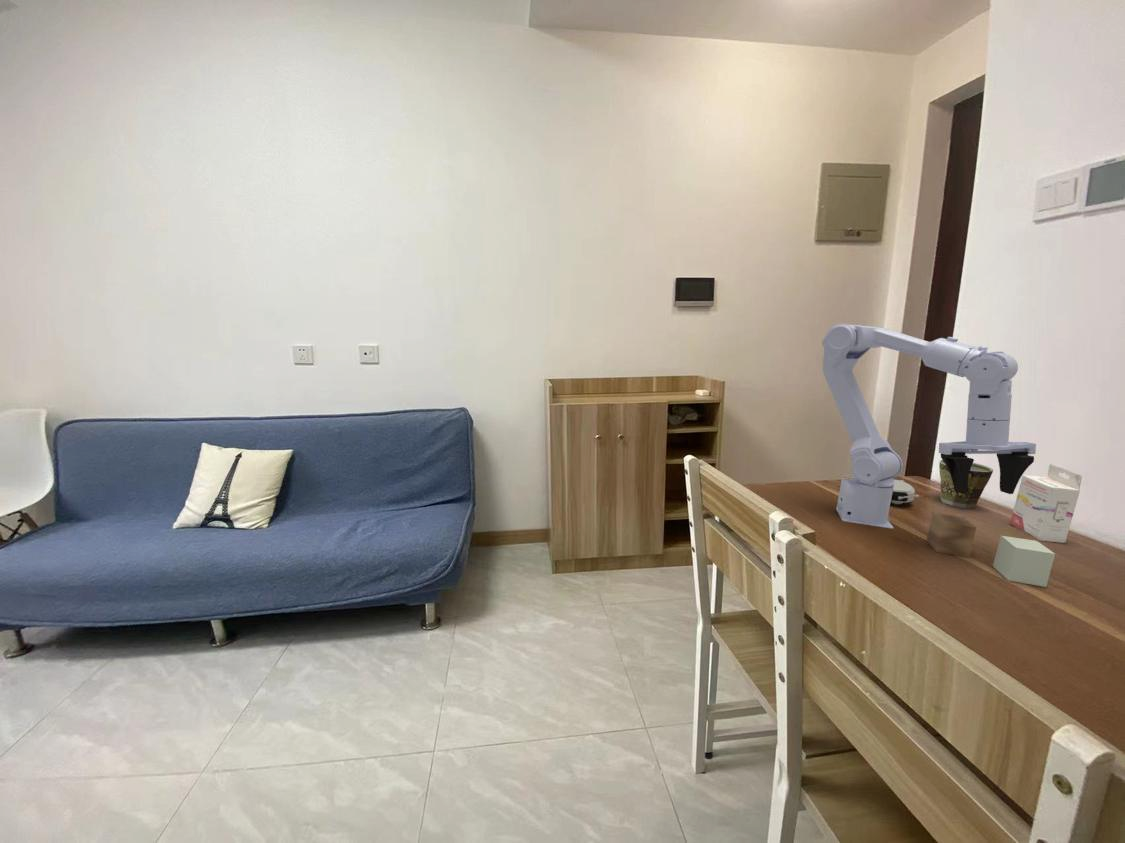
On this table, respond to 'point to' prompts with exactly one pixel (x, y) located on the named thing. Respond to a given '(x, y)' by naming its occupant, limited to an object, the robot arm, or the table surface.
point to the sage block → (1023, 561)
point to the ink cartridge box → (1047, 504)
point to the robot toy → (902, 492)
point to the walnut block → (951, 534)
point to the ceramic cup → (976, 485)
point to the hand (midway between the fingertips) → (983, 492)
